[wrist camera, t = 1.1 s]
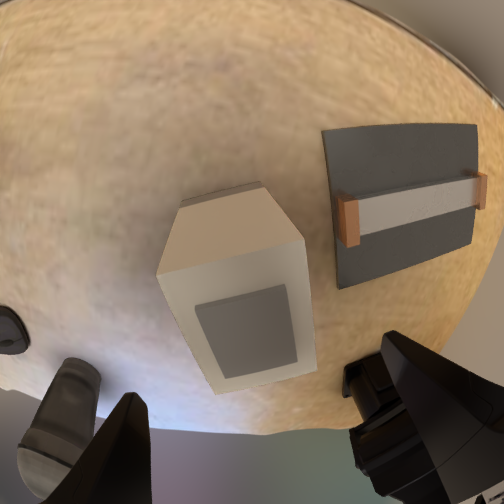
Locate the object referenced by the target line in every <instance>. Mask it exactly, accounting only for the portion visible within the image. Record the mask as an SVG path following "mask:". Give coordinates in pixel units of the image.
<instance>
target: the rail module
mask: <svg viewBox="0 0 504 504" xmlns="http://www.w3.org/2000/svg"><path fill="white" fill-rule="evenodd" d="M156 278H157V280H158V283H159V285H160V287H161V289H162V292H163V294H164V296H165V298H166V301H167V303H168V305H169V307H170V309H171V311H172V314H173V316H174V318H175V320H176V322H177V324H178V326H179V328H180V330H181V332H182V334H183V336H184V338H185V340H186V342H187V344H188V346H189V348H190V350H191V352H192V354H193V356H194V357H195V359H196V361H197V363H198V365H199V367H200V369H201V370H202V372H203V374H204V376H205V378H206V379H207V381H208V383H209V385H210V387H211V388H212V390H213V392H214V393H215V395H217V394H223V393H228V392H233V391H239V390H243V389H248V388H253V387H257V386H262V385H266V384H270V383H274V382H278V381H282V380H286V379H290V378H294V377H297V376H301V375H304V374H308V373H311V372H315V371H317V361H316V347H315V334H314V322H313V311H312V300H311V290H310V281H309V272H308V263H307V255H306V247H305V239H304V238H303V236H302V235H301V234H300V232H299V231H298V230H297V228H296V227H295V226H294V224H293V223H292V222H291V221H290V219H289V218H288V217H287V215H286V214H285V213H284V211H283V210H282V209H281V208H280V206H279V205H278V204H277V202H276V201H275V200H274V199H273V197H272V196H271V195H270V193H269V192H268V191H267V190H266V188H265V187H264V186H263V185H262V183H261V182H256V183H251V184H247V185H243V186H238V187H234V188H230V189H226V190H222V191H218V192H214V193H210V194H206V195H202V196H199V197H195V198H191V199H188V200H184V201H182V202H181V205H180V207H179V210H178V213H177V215H176V218H175V221H174V223H173V226H172V229H171V232H170V234H169V237H168V240H167V243H166V246H165V249H164V252H163V254H162V257H161V260H160V263H159V267H158V270H157V273H156Z"/></svg>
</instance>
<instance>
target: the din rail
mask: <svg viewBox="0 0 504 504" xmlns="http://www.w3.org/2000/svg"><path fill="white" fill-rule="evenodd" d="M322 137H323V143H324V150H325V157H326V164H327V172H328V180H329V188H330V197H331V207H332V217H333V228H334V241H335V256H336V275H337V288H338V289H339V290H340V289H343V288H347V287H350V286H353V285H356V284H359V283H363V282H366V281H369V280H372V279H375V278H378V277H381V276H384V275H387V274H390V273H393V272H396V271H399V270H402V269H405V268H408V267H411V266H413V265H416V264H419V263H422V262H425V261H427V260H430V259H433V258H435V257H438V256H441V255H443V254H446V253H449V252H451V251H454V250H456V249H459V248H461V247H464V246H466V245H469V244H471V241H472V234H473V227H474V219H475V210H476V209H478V210H482V209H485V203H486V192H487V175H485V174H483V173H480V172H478V131H477V125H475V124H453V123H412V124H388V125H373V126H361V127H351V128H341V129H333V130H325V131H322Z"/></svg>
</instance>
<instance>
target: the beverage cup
mask: <svg viewBox="0 0 504 504" xmlns="http://www.w3.org/2000/svg"><path fill="white" fill-rule="evenodd" d="M100 381H101V377H100V374H99V373H98V371H97V370H96V369H95V368H94V367H93V366H91V365H90V364H88V363H87V362H85V361H82V360H80V359H76V358H67V359H65V360H64V362H63V364H62V366H61V367H60V369H59V370H58V371H57V373H56V375H55V377H54V379H53V381H52V382H51V384H50V386H49V388H48V390H47V392H46V394H45V396H44V398H43V400H42V402H41V404H40V406H39V408H38V410H37V413H36V415H35V417H34V419H33V421H32V424H31V426H30V428H29V429H28V430H27V431H26V433H25V435H24V436H23V438H22V440H21V443H20V444H18V455H17V463H18V469H19V472H20V475H21V477H22V479H23V481H24V482H25V484H26V486H27V487H28V488H29V489H30V490H31V492H32V493H34V494H35V495H36V496H37V497H38V498H40V499H42V500H45V499H46V498H47V497H48V496H49V495H50V494H51V493H52V492H53V490H54V489H55V488H56V487H57V486H58V485H59V484H60V482H61V481H62V480H63V479H64V478H65V476H66V475H67V474H68V473H69V471H70V470H71V468H72V467H73V466H74V464H75V463H76V461H77V460H78V459H79V457H80V456H81V454H82V453H83V451H84V450H85V448H86V447H87V446H88V444H89V443H90V441H91V440H92V438H93V435H94V425H95V417H96V410H97V403H98V397H99V387H100Z"/></svg>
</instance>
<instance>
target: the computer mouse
mask: <svg viewBox="0 0 504 504" xmlns="http://www.w3.org/2000/svg"><path fill="white" fill-rule="evenodd" d="M27 349H28V339H27V336H26V334H25V331H24V329H23V327H22V325H21V323H20V321H19V320H18V318H17V317H16V316H15V315H14V314H13V313H12V312H11V311H10V310H9V309H7V308H3V307H0V354H6V355H15V354H21V353H23V352H25V351H26V350H27Z"/></svg>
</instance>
